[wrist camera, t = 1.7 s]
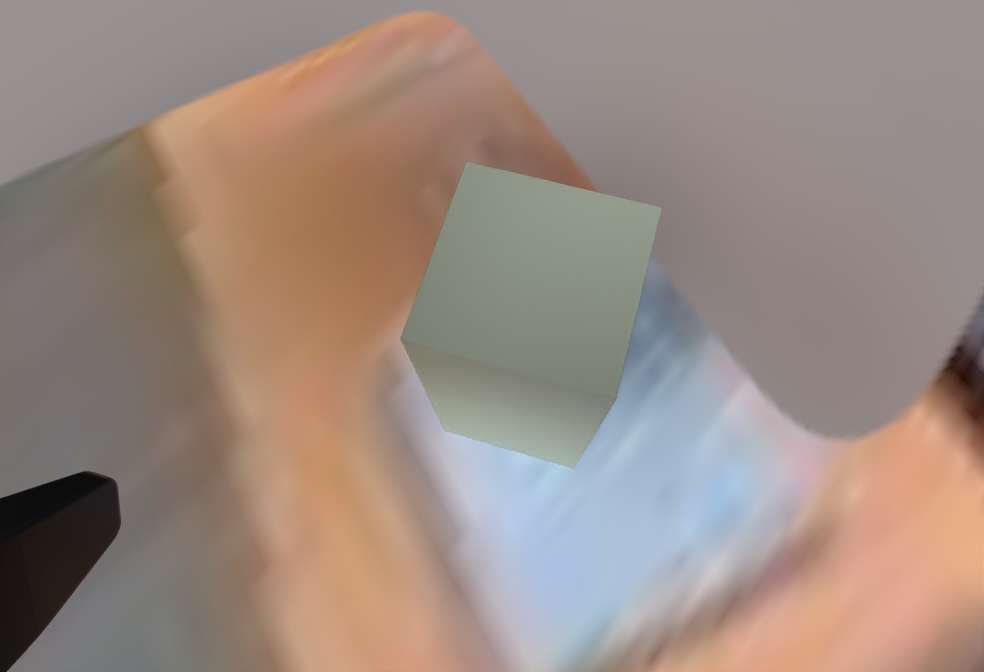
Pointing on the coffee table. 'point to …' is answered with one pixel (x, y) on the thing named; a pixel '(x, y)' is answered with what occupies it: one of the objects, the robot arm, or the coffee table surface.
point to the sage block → (529, 310)
